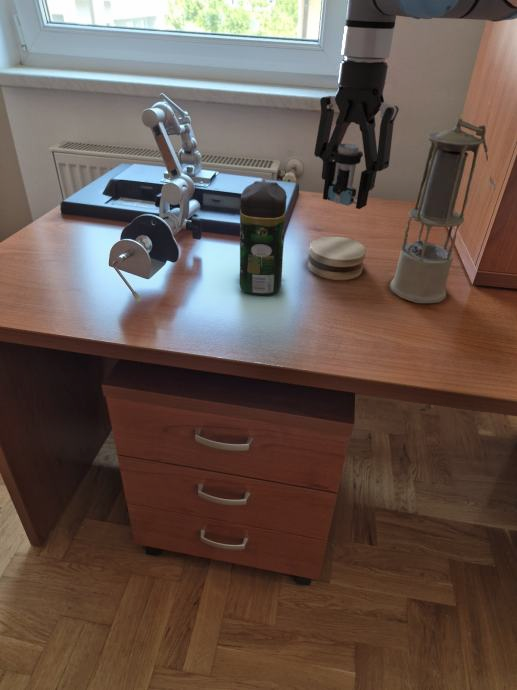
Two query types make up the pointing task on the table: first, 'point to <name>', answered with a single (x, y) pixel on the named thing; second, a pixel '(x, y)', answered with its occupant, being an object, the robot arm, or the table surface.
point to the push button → (344, 174)
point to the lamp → (437, 215)
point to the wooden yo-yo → (336, 258)
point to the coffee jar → (262, 237)
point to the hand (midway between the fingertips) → (344, 201)
